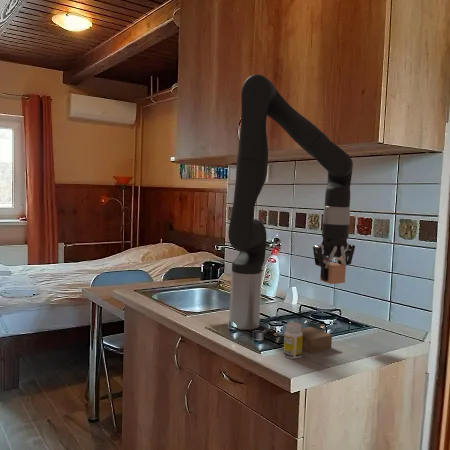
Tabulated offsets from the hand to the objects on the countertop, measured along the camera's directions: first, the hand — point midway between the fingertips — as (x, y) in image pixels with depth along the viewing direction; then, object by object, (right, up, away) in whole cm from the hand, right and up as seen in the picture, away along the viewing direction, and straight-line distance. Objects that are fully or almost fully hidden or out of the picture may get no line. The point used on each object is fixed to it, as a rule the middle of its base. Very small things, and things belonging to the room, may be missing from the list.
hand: (332, 279), depth 136 cm
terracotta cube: (0, -1, 0) cm, 0 cm away
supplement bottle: (-14, -19, -13) cm, 27 cm away
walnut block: (-7, -18, -6) cm, 20 cm away
